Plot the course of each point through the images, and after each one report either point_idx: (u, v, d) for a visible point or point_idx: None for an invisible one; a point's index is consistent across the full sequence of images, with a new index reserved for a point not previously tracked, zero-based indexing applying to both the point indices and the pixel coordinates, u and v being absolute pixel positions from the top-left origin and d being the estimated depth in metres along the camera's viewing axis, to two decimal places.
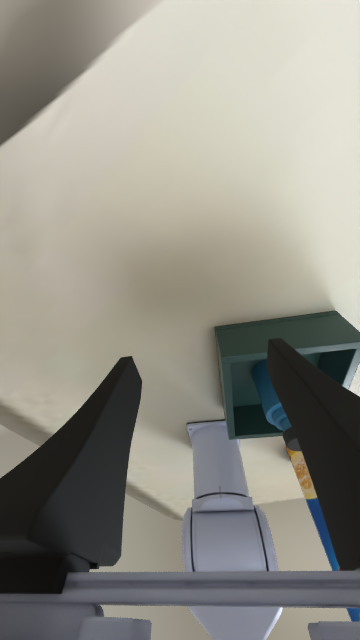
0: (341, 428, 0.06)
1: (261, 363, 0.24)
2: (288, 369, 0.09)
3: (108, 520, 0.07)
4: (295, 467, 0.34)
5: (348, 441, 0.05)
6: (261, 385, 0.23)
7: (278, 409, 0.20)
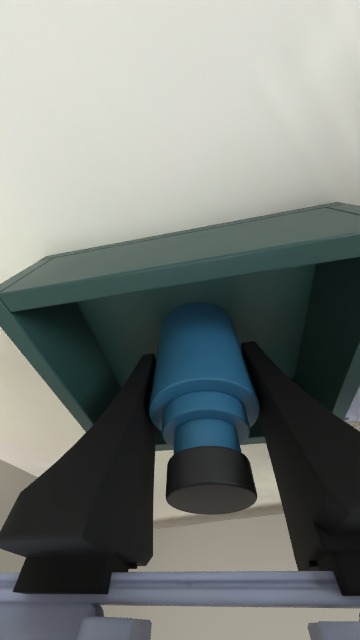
0: (291, 432, 0.06)
1: None
2: (255, 373, 0.09)
3: (142, 519, 0.07)
4: None
5: (295, 445, 0.06)
6: None
7: None
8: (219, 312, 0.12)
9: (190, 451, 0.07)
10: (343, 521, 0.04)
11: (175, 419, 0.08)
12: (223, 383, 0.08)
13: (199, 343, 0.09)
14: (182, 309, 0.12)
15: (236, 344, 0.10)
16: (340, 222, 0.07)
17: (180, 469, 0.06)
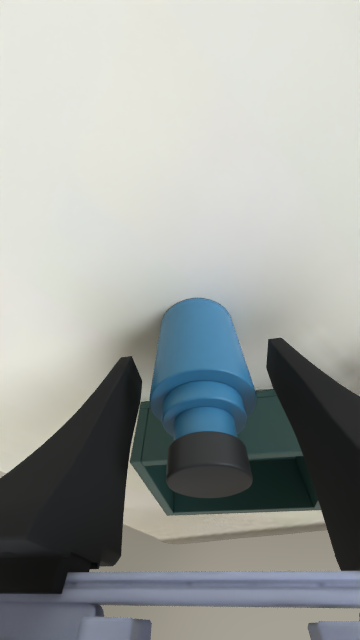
0: (341, 428, 0.06)
1: None
2: (288, 369, 0.09)
3: (108, 520, 0.07)
4: None
5: (348, 441, 0.05)
6: None
7: None
8: (218, 307, 0.12)
9: (189, 436, 0.07)
10: None
11: (175, 407, 0.08)
12: (221, 373, 0.08)
13: (198, 336, 0.09)
14: (181, 304, 0.12)
15: (234, 338, 0.10)
16: None
17: (180, 453, 0.07)
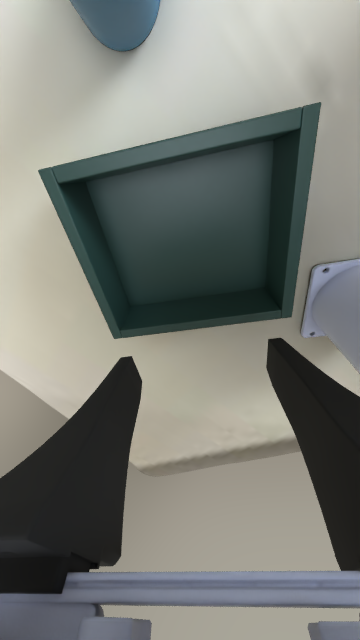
0: (341, 428, 0.06)
1: (89, 29, 0.12)
2: (288, 369, 0.09)
3: (108, 520, 0.07)
4: None
5: (348, 441, 0.05)
6: (90, 19, 0.10)
7: None
8: None
9: None
10: None
11: None
12: None
13: None
14: None
15: None
16: None
17: None
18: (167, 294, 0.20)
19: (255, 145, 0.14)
